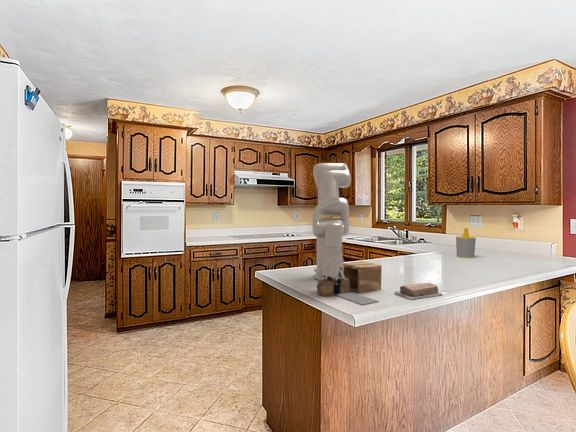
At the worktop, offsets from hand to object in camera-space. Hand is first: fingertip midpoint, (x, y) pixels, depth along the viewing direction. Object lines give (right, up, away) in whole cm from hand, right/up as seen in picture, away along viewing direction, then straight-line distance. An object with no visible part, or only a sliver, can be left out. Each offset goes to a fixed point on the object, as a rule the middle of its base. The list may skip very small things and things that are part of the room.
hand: (332, 291), depth 153 cm
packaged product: (+37, -2, -2) cm, 37 cm away
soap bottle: (+111, +3, +104) cm, 152 cm away
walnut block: (0, -1, 0) cm, 1 cm away
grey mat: (+9, -1, -8) cm, 12 cm away
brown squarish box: (+14, 0, +9) cm, 17 cm away
